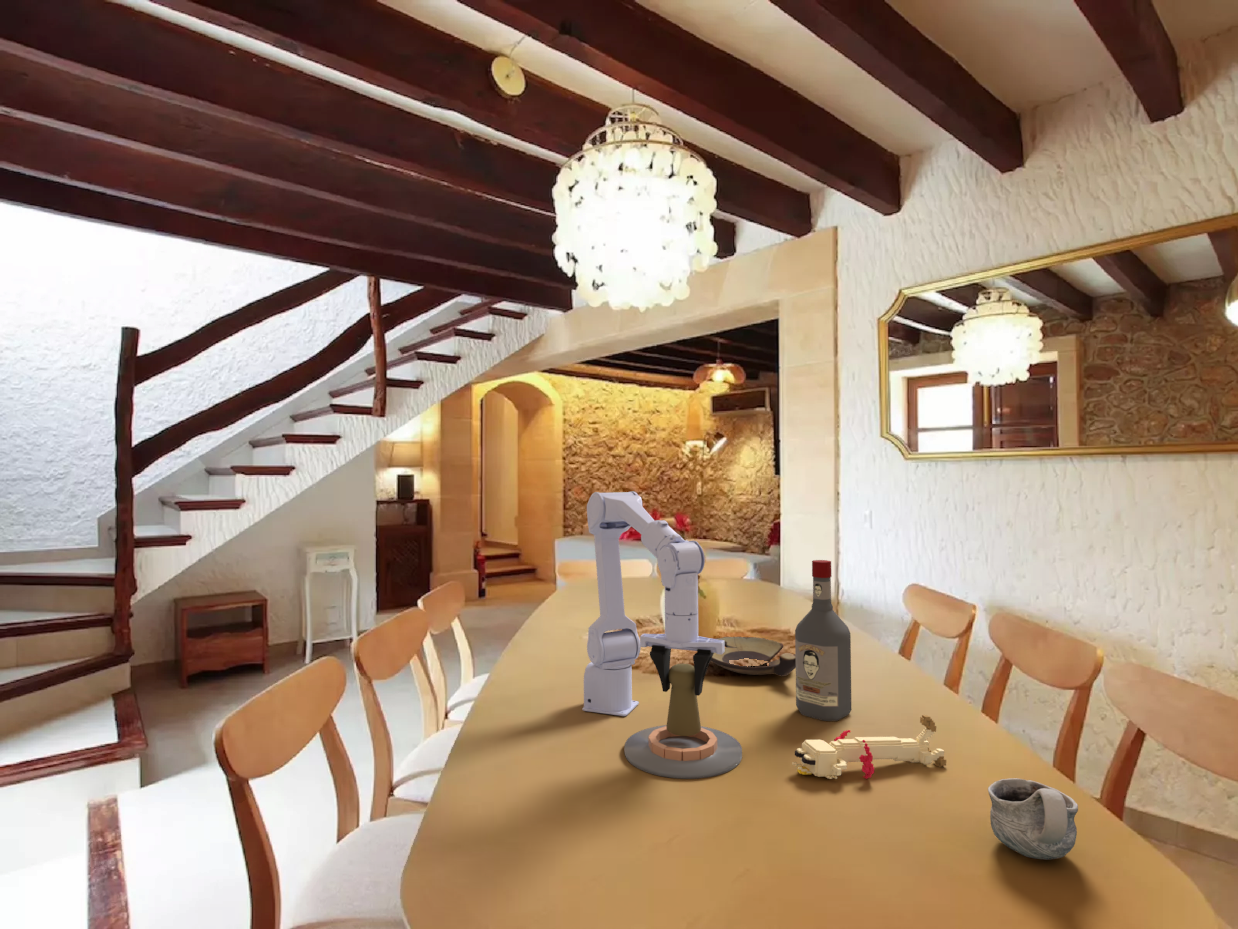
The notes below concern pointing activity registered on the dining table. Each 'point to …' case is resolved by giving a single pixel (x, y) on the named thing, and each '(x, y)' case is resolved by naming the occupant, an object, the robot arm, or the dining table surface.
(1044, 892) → the dining table surface
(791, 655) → the oil lamp
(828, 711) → the liquor
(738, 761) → the ring platter
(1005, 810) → the mug
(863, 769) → the cream toy figure
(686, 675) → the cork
